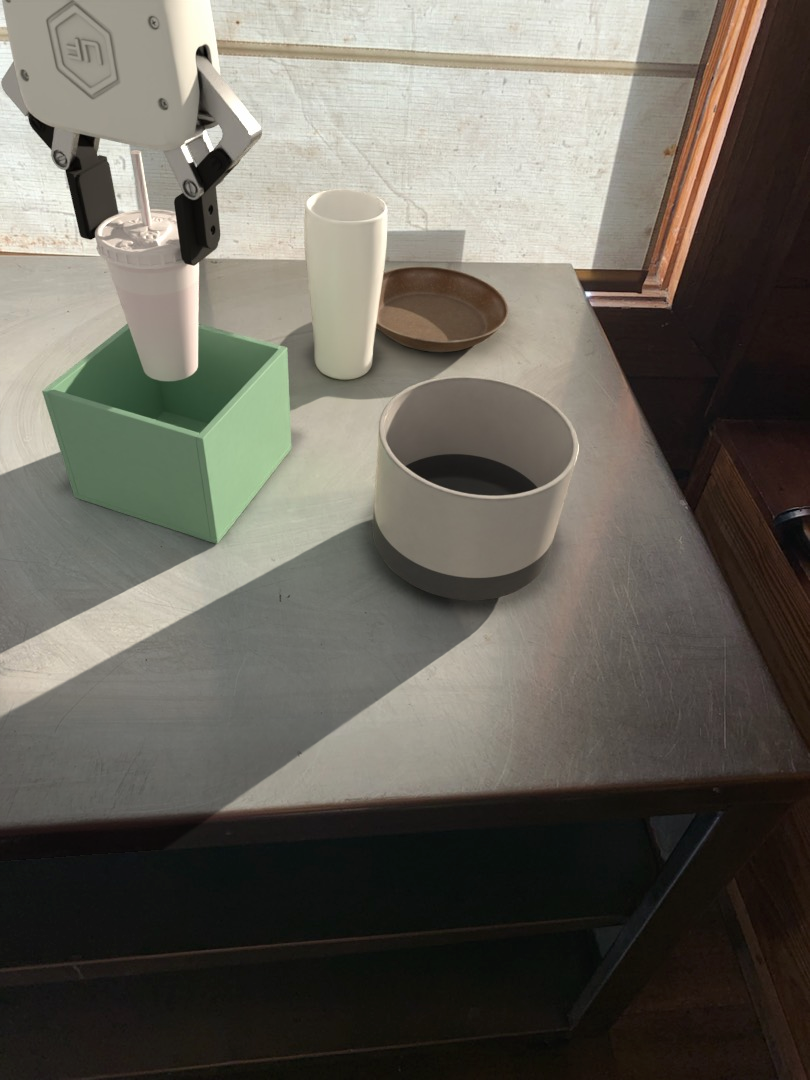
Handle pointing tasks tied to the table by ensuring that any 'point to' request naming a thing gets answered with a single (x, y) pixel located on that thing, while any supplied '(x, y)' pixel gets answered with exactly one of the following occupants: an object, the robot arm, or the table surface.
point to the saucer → (438, 308)
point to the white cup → (344, 277)
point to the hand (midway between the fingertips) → (150, 240)
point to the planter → (470, 485)
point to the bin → (174, 430)
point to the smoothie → (153, 284)
